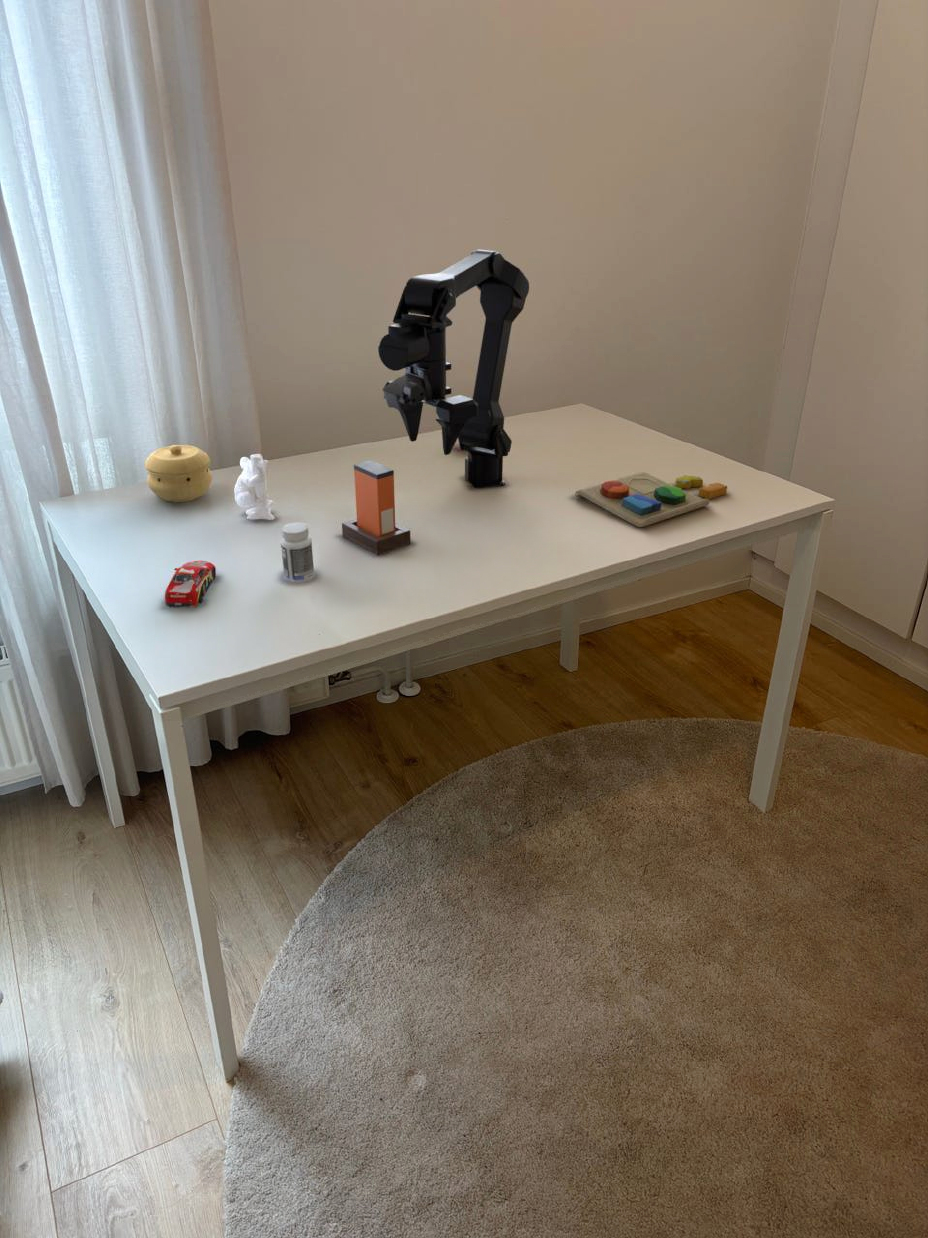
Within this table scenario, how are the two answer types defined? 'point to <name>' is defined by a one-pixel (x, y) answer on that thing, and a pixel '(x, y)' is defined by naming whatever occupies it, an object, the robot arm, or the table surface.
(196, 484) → the pot
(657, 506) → the shape puzzle
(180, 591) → the race car
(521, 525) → the table surface
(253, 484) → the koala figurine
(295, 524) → the pill bottle
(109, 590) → the table surface
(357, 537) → the slot
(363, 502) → the box
